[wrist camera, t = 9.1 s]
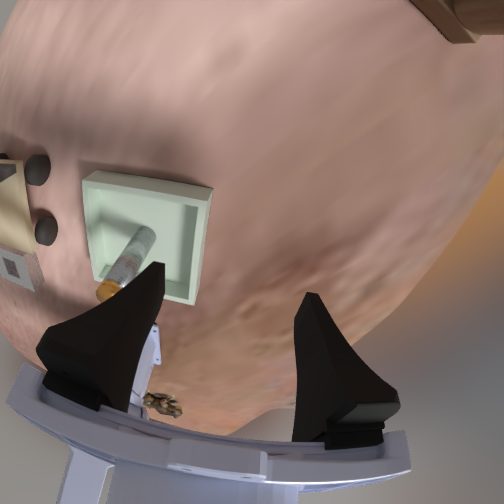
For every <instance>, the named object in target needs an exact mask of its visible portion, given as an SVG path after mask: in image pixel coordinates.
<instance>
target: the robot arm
mask: <svg viewBox="0 0 504 504" xmlns="http://www.w3.org/2000/svg"><path fill="white" fill-rule="evenodd" d="M164 295H165V263H161V262H157V261H153V262H152V263H151V264H149V265H148V266H147V267H146V268H145V269H144V270H143V271H142V272H141V273H140V274H139V275H137V276H136V277H135V278H134V279H133V280H132V281H130V282H129V283H128V284H127V285H126V286H124V287H123V288H122V289H121V290H119V291H118V292H117V293H115V294H114V295H113V296H111V297H110V298H109V299H107V300H106V301H104V302H103V303H101V304H99V305H98V306H96V307H94V308H93V309H91V310H89V311H87V312H85V313H83V314H81V315H79V316H77V317H75V318H72V319H70V320H68V321H65V322H62V323H59V324H57V325H54V326H51V327H48V329H47V330H46V331H45V333H44V335H43V336H42V338H41V340H40V342H39V343H38V345H37V347H36V353H37V355H38V357H39V358H40V360H41V361H42V363H43V364H44V366H45V367H46V369H47V370H48V371H47V373H46V375H45V374H43V373H42V372H41V371H39V370H37V369H35V368H34V367H32V366H30V365H28V364H26V363H23V365H22V367H21V369H20V371H19V373H18V375H17V377H16V379H15V381H14V383H13V385H12V387H11V389H10V392H9V394H8V396H7V398H6V403H7V404H8V405H9V406H10V407H11V408H12V409H14V410H15V411H16V412H17V413H18V414H20V415H21V416H22V417H23V418H25V419H26V420H27V421H28V422H30V423H31V424H33V425H35V426H36V427H38V428H40V429H41V430H43V431H45V432H46V433H48V434H50V435H52V436H54V437H55V438H57V439H59V440H61V441H63V442H65V443H66V445H67V446H68V448H69V449H70V451H71V452H70V454H69V458H68V461H67V464H66V468H65V471H64V475H63V478H62V482H61V486H60V490H59V494H58V498H57V502H56V504H98V502H99V498H100V494H101V490H102V487H103V483H104V480H105V476H106V473H107V469H108V468H110V467H113V466H115V467H114V472H113V475H112V480H111V484H110V488H109V493H108V498H107V503H106V504H298V493H311V492H321V491H330V490H337V489H344V488H351V487H356V486H362V485H367V484H372V483H376V482H381V481H385V480H388V479H390V478H393V477H396V476H399V475H402V474H404V473H407V472H409V471H411V470H412V468H411V460H410V454H409V448H408V442H407V437H406V432H405V430H400V431H393V432H387V433H384V434H383V433H382V429H384V428H385V424H384V421H386V420H387V419H388V418H390V417H391V416H393V415H394V414H395V413H397V412H398V410H399V409H400V401H399V397H398V393H397V391H396V390H395V389H394V388H393V387H391V386H390V385H389V384H388V383H386V382H385V381H384V380H382V379H381V378H380V377H379V376H378V375H377V374H376V373H375V372H373V371H372V370H371V369H370V368H369V367H368V366H367V365H366V364H365V362H364V361H363V360H362V359H361V358H360V357H359V356H358V355H357V354H356V352H355V351H354V350H353V349H352V347H351V346H350V345H349V343H348V342H347V341H346V339H345V338H344V336H343V335H342V333H341V332H340V330H339V329H338V327H337V326H336V324H335V323H334V321H333V319H332V318H331V316H330V314H329V312H328V311H327V309H326V307H325V305H324V303H323V302H322V300H321V298H320V296H319V295H318V294H316V293H311V292H307V293H306V295H305V297H304V299H303V301H302V303H301V305H300V308H299V310H298V312H297V314H296V316H295V318H294V345H295V356H296V367H297V396H296V411H295V419H294V428H293V435H292V441H291V442H278V441H263V440H252V439H242V438H234V437H227V436H220V435H214V434H208V433H202V432H197V431H192V430H187V429H182V428H178V427H174V426H170V425H165V424H162V423H158V422H154V421H150V420H149V415H148V413H147V410H146V408H145V407H143V406H142V404H143V401H144V399H142V398H143V396H144V394H145V392H146V388H147V385H148V382H149V378H150V375H151V372H152V369H153V365H154V364H158V365H160V364H161V352H160V339H159V327H158V326H157V325H156V324H154V322H155V320H156V317H157V315H158V313H159V311H160V308H161V305H162V302H163V298H164Z"/></svg>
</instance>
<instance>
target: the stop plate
mask: <svg viewBox="0 0 504 504" xmlns="http://www.w3.org/2000/svg"><path fill="white" fill-rule="evenodd" d="M0 273H1V276H2V278H4V279H6V280H9V281H11V282H13V283H15V284H17V285H20V286H22V287H24V288H26V289H29V290H31V291H33V292H36V291H37V289H38V288H39V287H40V286H41V284H42V283H43V282H44V278H43V275H42V272H41V269H40V265H39V262H38V258H37V255H36V252H35V253H34V254H30V253H27V252H24V251H21V250H18V249H16V248H13V247H10V246H7V245H5V244H2V243H0Z"/></svg>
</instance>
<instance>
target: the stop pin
mask: <svg viewBox="0 0 504 504" xmlns="http://www.w3.org/2000/svg"><path fill="white" fill-rule="evenodd" d="M155 241H156V234H155V232H154V231H153V230H152V229H151V228H150V227H147V226H142V227H140V228H139V229H138V230H137V231H136V233H135V234H134V235H133V237H132V238H131V240H130V241H129V242H128V244H127V245H126V247H125V248H124V250H123V251H122V252H121V254H120V255H119V257H118V258H117V260H116V261H115V263H114V264H113V266H112V267H111V269H110V270H109V272H108V273H107V275H106V276H105V278H104V280H103V281H102V283H101V284H100V286H99V287H98V289H97V291H96V296H97V298H98V300H99V301H100V302H101V303H103V302H104V301H106V300H107V299H109V298H110V297H111V296H113V295H114V294H115V293H117V292H118V291H119V290H121V289H122V288H123V287H124V286H126V285H127V284H128V283H129V282H130V281H132V280H133V279H134V278H135V276H136V274H137V272H138V271H139V269H140V267H141V265H142V264H143V262H144V260H145V258H146V256H147V255H148V253H149V251H150V250H151V248H152V246H153V244H154V243H155Z"/></svg>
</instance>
